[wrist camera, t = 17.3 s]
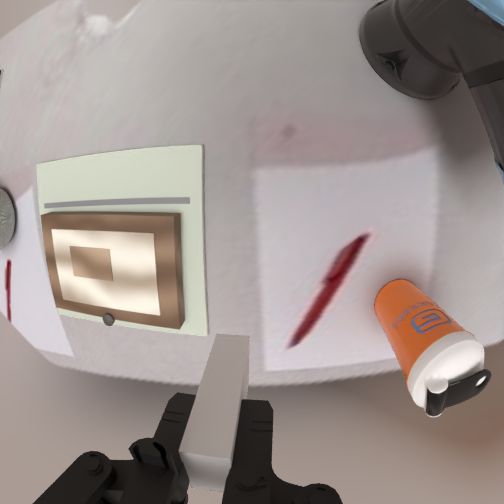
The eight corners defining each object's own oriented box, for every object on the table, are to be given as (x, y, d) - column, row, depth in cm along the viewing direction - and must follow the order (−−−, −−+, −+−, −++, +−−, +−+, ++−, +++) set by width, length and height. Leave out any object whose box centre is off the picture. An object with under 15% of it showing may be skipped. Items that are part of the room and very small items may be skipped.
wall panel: (40, 163, 35) (36, 164, 34) (203, 145, 33) (201, 144, 32) (61, 311, 43) (58, 314, 42) (208, 332, 41) (207, 336, 40)
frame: (50, 211, 36) (38, 215, 33) (180, 212, 35) (171, 217, 32) (65, 305, 41) (55, 313, 38) (185, 325, 39) (179, 337, 36)
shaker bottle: (426, 310, 38) (494, 395, 19) (377, 337, 40) (424, 437, 21) (414, 261, 36) (499, 337, 17) (359, 290, 38) (416, 390, 18)
